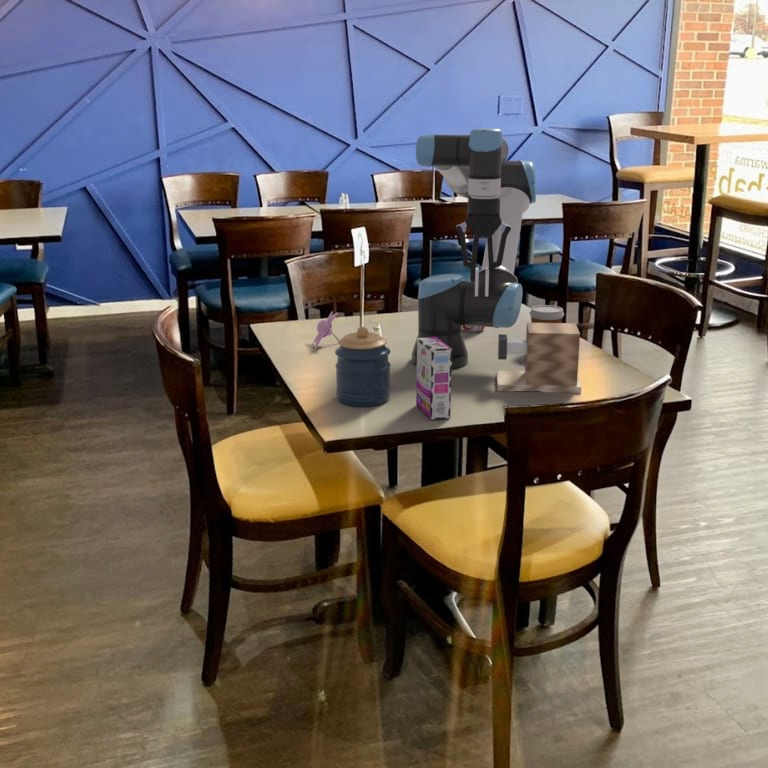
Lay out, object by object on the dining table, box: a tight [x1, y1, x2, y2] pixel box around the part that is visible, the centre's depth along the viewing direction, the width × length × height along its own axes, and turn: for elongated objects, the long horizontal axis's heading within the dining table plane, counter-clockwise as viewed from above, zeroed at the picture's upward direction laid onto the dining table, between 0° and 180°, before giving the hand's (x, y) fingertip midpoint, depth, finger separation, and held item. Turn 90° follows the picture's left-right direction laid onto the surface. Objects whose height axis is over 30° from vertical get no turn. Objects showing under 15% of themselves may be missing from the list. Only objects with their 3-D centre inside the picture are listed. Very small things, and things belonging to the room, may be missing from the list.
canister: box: [334, 326, 392, 408], centre depth 216 cm, size 13×13×18 cm
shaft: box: [497, 333, 528, 361], centre depth 225 cm, size 16×5×5 cm, turn 85°
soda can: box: [462, 325, 485, 333], centre depth 277 cm, size 7×7×12 cm
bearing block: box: [496, 322, 582, 394], centre depth 226 cm, size 20×12×14 cm, turn 85°
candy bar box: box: [415, 337, 453, 421], centre depth 207 cm, size 11×5×16 cm, turn 16°
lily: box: [312, 310, 340, 350], centre depth 263 cm, size 12×12×10 cm
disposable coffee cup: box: [528, 304, 565, 323], centre depth 255 cm, size 10×10×12 cm
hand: (481, 295), depth 222 cm, fingers open, 2 cm apart
